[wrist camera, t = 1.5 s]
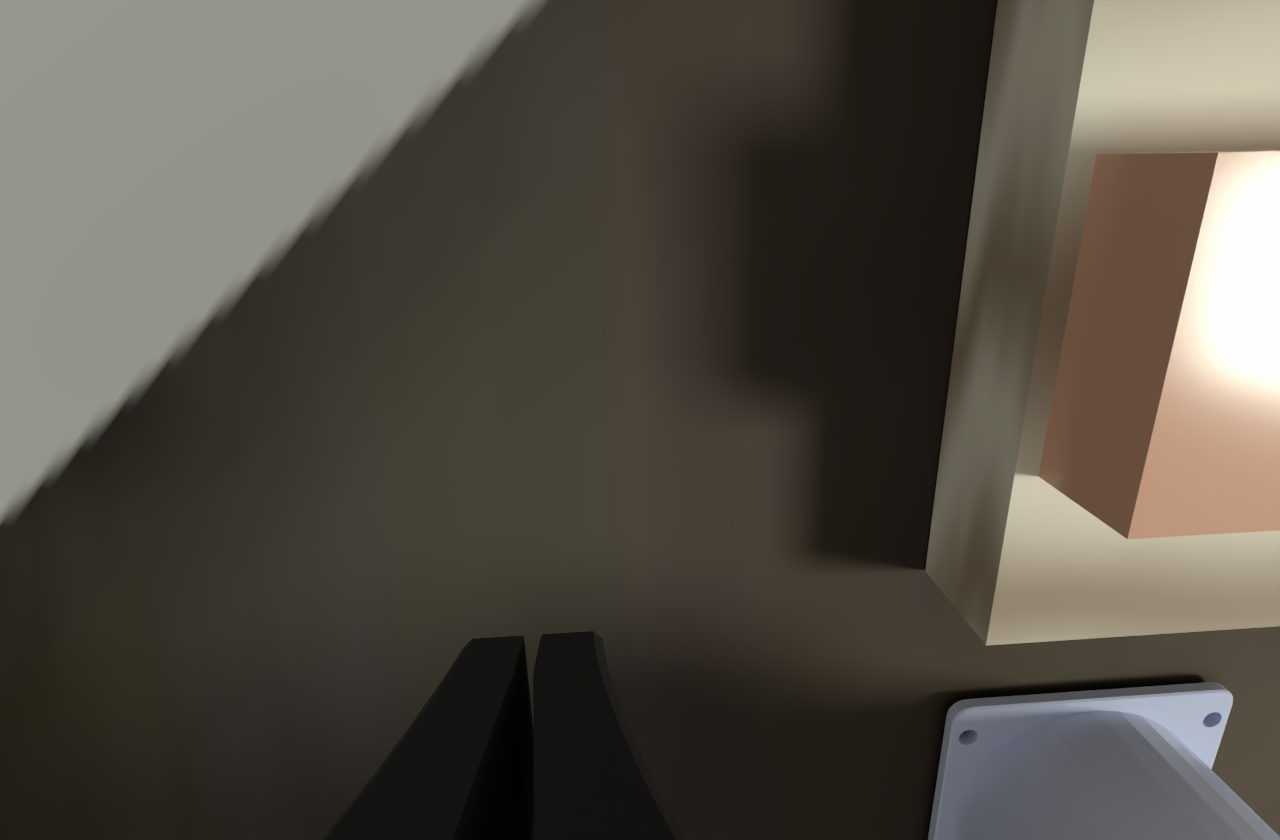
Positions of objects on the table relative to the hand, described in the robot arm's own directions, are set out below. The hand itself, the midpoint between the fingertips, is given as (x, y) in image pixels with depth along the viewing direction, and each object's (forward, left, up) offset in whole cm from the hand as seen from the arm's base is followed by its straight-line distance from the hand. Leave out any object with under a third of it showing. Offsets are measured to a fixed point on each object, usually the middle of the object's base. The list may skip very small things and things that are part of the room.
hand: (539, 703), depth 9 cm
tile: (+3, -14, -5) cm, 15 cm away
